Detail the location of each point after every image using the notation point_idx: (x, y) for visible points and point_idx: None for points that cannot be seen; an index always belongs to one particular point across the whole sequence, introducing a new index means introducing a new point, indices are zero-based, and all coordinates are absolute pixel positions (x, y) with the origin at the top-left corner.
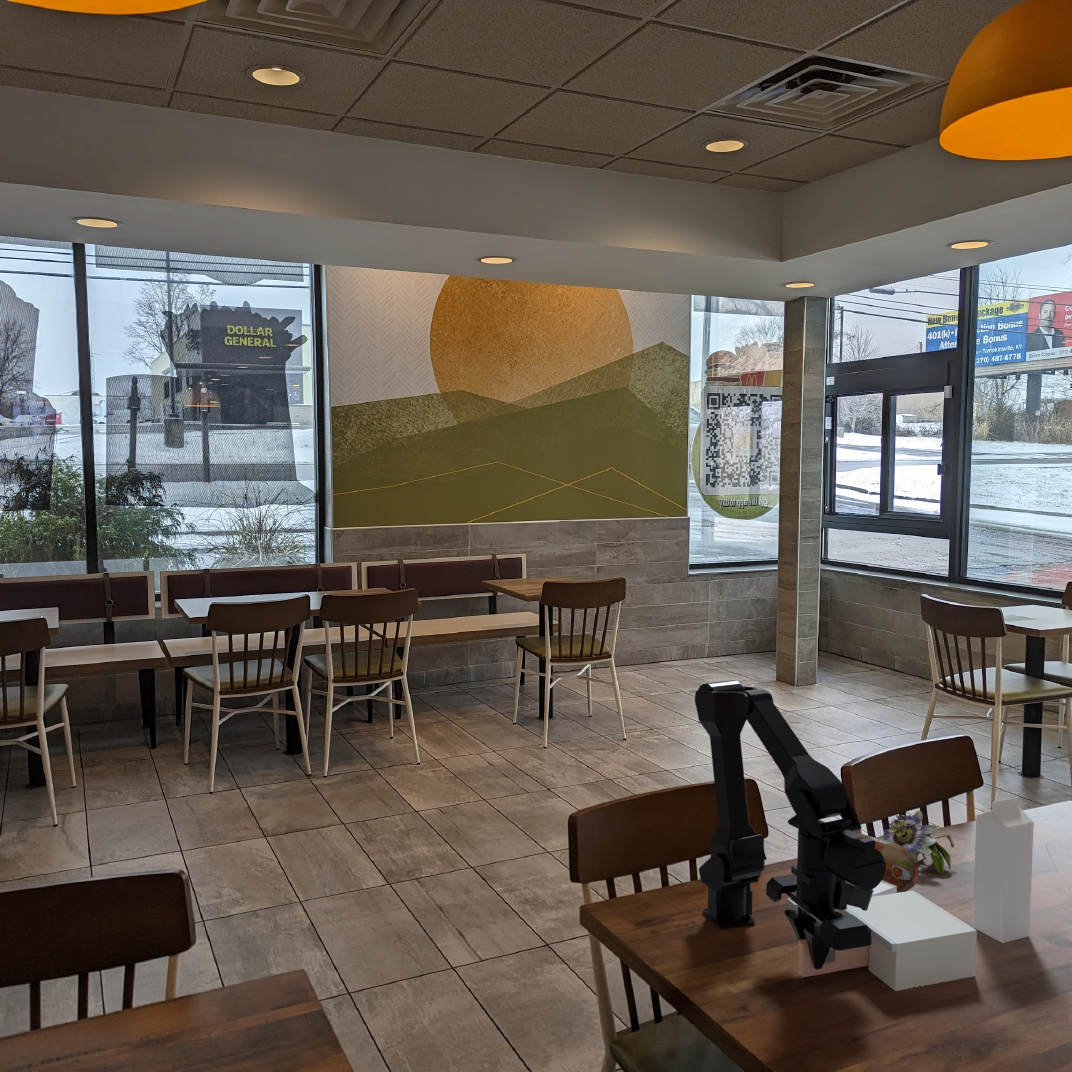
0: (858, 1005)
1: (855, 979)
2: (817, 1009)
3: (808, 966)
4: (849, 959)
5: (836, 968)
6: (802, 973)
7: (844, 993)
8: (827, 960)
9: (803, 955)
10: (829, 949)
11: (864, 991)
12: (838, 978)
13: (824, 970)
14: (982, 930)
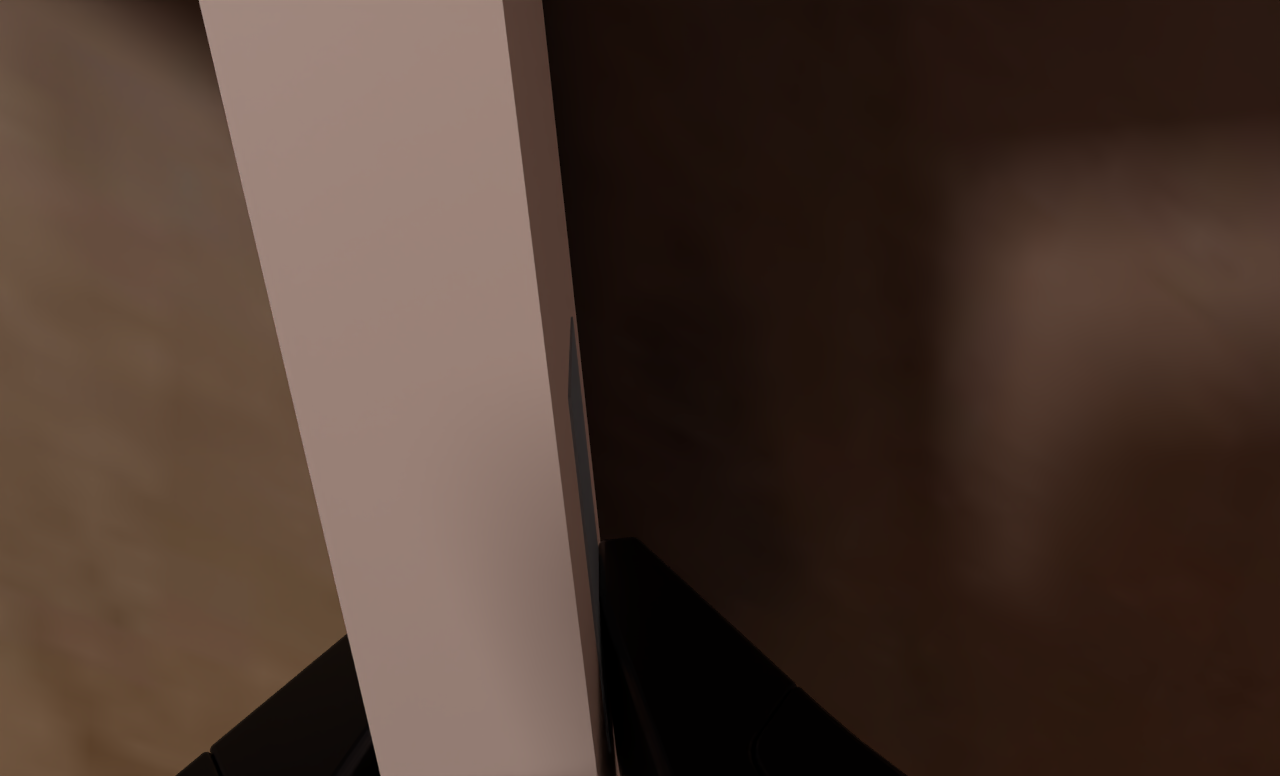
0: (1247, 337)
1: (739, 35)
2: (1122, 746)
3: None
4: (535, 5)
5: (568, 258)
6: None
7: (983, 364)
8: (588, 470)
9: None
10: (800, 696)
11: (1036, 88)
12: (660, 260)
13: (588, 448)
14: None
